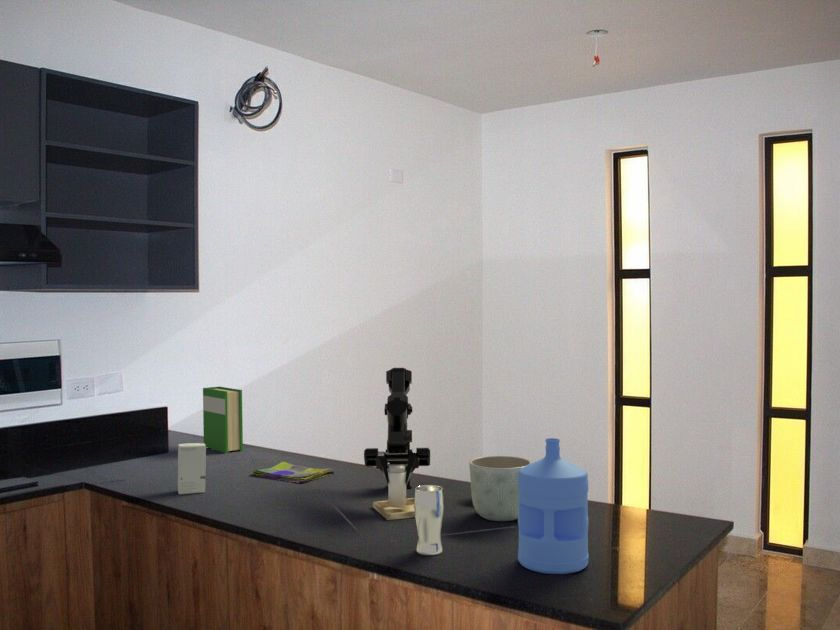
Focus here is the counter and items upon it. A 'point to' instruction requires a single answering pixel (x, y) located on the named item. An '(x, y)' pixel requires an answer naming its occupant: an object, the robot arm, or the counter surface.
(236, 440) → the hardback book
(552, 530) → the water jug
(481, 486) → the planter
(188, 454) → the skincare box
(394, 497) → the ball
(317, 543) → the counter surface
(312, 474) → the dish towel
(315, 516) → the counter surface
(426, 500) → the beer glass
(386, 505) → the tray
